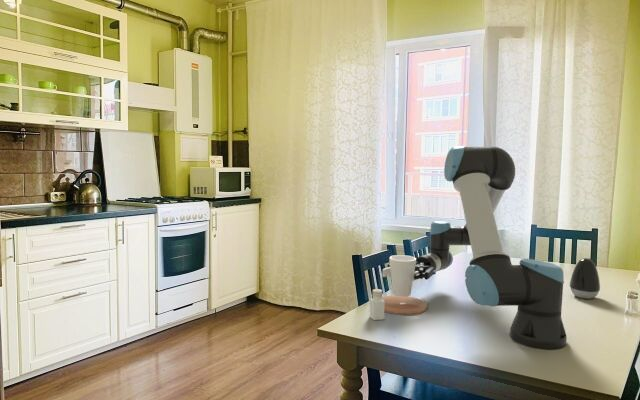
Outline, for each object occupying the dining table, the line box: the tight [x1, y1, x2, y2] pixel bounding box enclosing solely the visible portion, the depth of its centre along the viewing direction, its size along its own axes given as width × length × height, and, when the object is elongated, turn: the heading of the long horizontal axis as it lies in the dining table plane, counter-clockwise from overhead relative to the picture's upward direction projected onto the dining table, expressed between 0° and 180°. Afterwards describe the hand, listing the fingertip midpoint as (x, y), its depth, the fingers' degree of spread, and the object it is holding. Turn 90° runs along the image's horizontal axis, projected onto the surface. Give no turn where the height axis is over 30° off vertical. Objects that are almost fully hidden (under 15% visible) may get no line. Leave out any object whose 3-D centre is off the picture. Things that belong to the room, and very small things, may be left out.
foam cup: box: [388, 254, 417, 297], centre depth 166 cm, size 10×9×13 cm
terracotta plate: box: [382, 295, 428, 316], centre depth 166 cm, size 18×18×1 cm
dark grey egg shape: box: [569, 258, 601, 300], centre depth 180 cm, size 10×10×15 cm
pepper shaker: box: [369, 288, 385, 321], centre depth 153 cm, size 4×4×10 cm
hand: (395, 275), depth 162 cm, fingers closed on foam cup, 9 cm apart
